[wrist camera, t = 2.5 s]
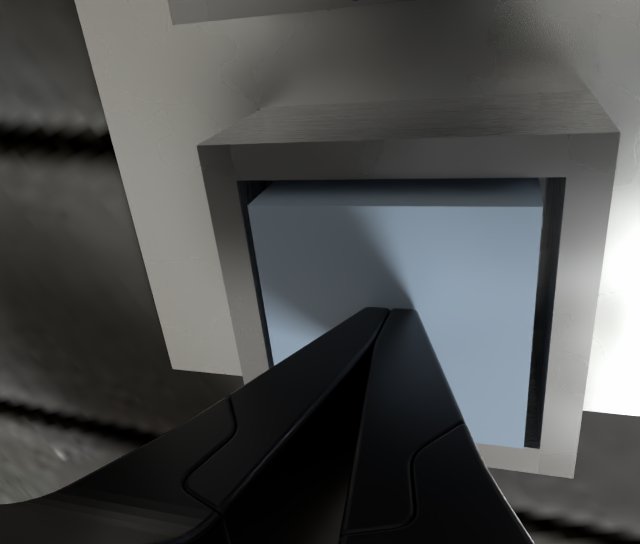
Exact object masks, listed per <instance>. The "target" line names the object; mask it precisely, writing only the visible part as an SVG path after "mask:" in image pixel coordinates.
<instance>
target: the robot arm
mask: <svg viewBox="0 0 640 544" xmlns="http://www.w3.org/2000/svg"><path fill="white" fill-rule="evenodd" d="M0 544H535V543H534V541H533V540H532V538H531V537H530V535H529V534H528V532H527V531H526V529H525V528H524V526H523V525H522V523H521V521H520V520H519V518H518V517H517V515H516V514H515V512H514V511H513V509H512V508H511V506H510V505H509V503H508V502H507V500H506V498H505V497H504V495H503V494H502V492H501V490H500V489H499V487H498V485H497V484H496V482H495V480H494V479H493V477H492V475H491V474H490V472H489V470H488V469H487V467H486V465H485V463H484V461H483V458H482V456H481V454H480V452H479V450H478V448H477V446H476V444H475V442H474V440H473V438H472V435H471V433H470V431H469V428H468V426H467V425H466V422H465V420H464V418H463V415H462V413H461V411H460V408H459V406H458V404H457V401H456V399H455V397H454V395H453V392H452V390H451V388H450V385H449V383H448V381H447V378H446V376H445V374H444V372H443V369H442V367H441V365H440V362H439V360H438V358H437V355H436V353H435V351H434V349H433V346H432V344H431V342H430V339H429V337H428V335H427V332H426V330H425V328H424V325H423V323H422V321H421V319H420V316H419V314H418V312H417V311H416V310H415V309H402V308H394V309H392V310H391V311H390V309H388V308H384V307H365V308H363V309H362V310H360V311H359V312H357V313H356V314H354V315H352V316H351V317H349V318H348V319H346V320H345V321H343V322H342V323H340V324H338V325H337V326H335V327H334V328H332V329H331V330H329V331H327V332H326V333H324V334H323V335H321V336H320V337H318V338H317V339H315V340H313V341H312V342H310V343H309V344H307V345H306V346H304V347H303V348H301V349H299V350H298V351H296V352H295V353H293V354H292V355H290V356H289V357H287V358H285V359H284V360H282V361H281V362H279V363H278V364H276V365H275V366H273V367H271V368H270V369H268V370H267V371H265V372H264V373H262V374H261V375H259V376H257V377H256V378H254V379H253V380H251V381H250V382H248V383H247V384H245V385H243V386H242V387H240V388H239V389H237V390H236V391H234V392H232V393H231V394H230V395H229V398H228V397H224V398H223V399H221V400H220V401H218V402H217V403H215V404H214V405H212V406H210V407H209V408H207V409H206V410H204V411H202V412H201V413H199V414H197V415H196V416H194V417H193V418H191V419H189V420H188V421H186V422H184V423H183V424H181V425H179V426H178V427H176V428H174V429H172V430H170V431H169V432H167V433H165V434H163V435H161V436H160V437H158V438H156V439H154V440H152V441H151V442H149V443H147V444H145V445H143V446H141V447H139V448H138V449H136V450H134V451H132V452H130V453H128V454H126V455H124V456H122V457H121V458H119V459H117V460H115V461H113V462H111V463H109V464H107V465H105V466H104V467H102V468H100V469H98V470H96V471H94V472H92V473H90V474H89V475H87V476H85V477H83V478H81V479H79V480H77V481H75V482H73V483H72V484H70V485H68V486H66V487H64V488H62V489H59V490H57V491H55V492H53V493H50V494H47V495H45V496H42V497H39V498H35V499H32V500H28V501H24V502H18V503H12V504H0Z"/></svg>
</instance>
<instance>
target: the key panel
mask: <svg viewBox="0 0 640 544" xmlns="http://www.w3.org/2000/svg"><path fill="white" fill-rule="evenodd" d="M74 1H75V4H76V8H77V12H78V16H79V20H80V23H81V27H82V31H83V35H84V38H85V42H86V46H87V50H88V53H89V57H90V61H91V65H92V68H93V72H94V76H95V80H96V83H97V87H98V91H99V95H100V98H101V102H102V106H103V110H104V113H105V117H106V121H107V125H108V128H109V132H110V136H111V140H112V143H113V147H114V151H115V155H116V158H117V162H118V166H119V170H120V173H121V177H122V181H123V185H124V188H125V192H126V196H127V200H128V203H129V207H130V211H131V215H132V218H133V222H134V226H135V230H136V233H137V237H138V241H139V245H140V248H141V252H142V256H143V260H144V263H145V267H146V271H147V275H148V278H149V282H150V286H151V290H152V293H153V297H154V301H155V305H156V308H157V312H158V316H159V320H160V324H161V327H162V331H163V335H164V339H165V342H166V346H167V350H168V354H169V357H170V361H171V365H172V369H177V370H187V371H197V372H207V373H217V374H227V375H237V376H243V381H244V385H245V384H247V383H248V382H250V381H251V380H253V379H254V378H256V377H257V376H259V375H261V374H262V373H264V372H265V371H267V370H268V369H270V368H271V367H273V366H274V362H273V356H272V350H271V344H270V338H269V332H268V326H267V320H266V314H265V308H264V302H263V296H262V290H261V284H260V278H259V272H258V266H257V260H256V254H255V248H254V242H253V236H252V230H251V224H250V218H249V212H248V205H249V204H250V203H251V202H252V201H253V200H254V199H255V198H256V197H257V196H259V195H260V194H261V193H262V192H263V191H264V190H265V189H266V188H267V187H268V186H270V185H271V184H272V183H273V182H274V181H275V180H344V179H440V178H536V177H538V179H539V185H540V191H541V198H542V204H543V214H542V226H541V238H540V251H539V263H538V276H537V288H536V301H535V313H534V326H533V338H532V351H531V363H530V375H529V388H528V400H527V413H526V425H525V438H524V449H521V448H513V447H505V446H497V445H488V444H480V443H475V444H476V446H477V448H478V450H479V452H480V454H481V456H482V458H483V461H484V463H485V465H486V467H491V468H499V469H506V470H514V471H521V472H528V473H536V474H543V475H551V476H558V477H566V478H573V477H574V470H575V463H576V455H577V448H578V441H579V433H580V426H581V419H582V411H583V410H584V411H594V412H603V413H613V414H623V415H633V416H640V0H74Z"/></svg>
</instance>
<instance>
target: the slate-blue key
mask: <svg viewBox="0 0 640 544" xmlns="http://www.w3.org/2000/svg"><path fill="white" fill-rule="evenodd" d="M248 212H249V218H250V224H251V230H252V236H253V242H254V248H255V254H256V260H257V266H258V272H259V278H260V284H261V290H262V296H263V302H264V308H265V314H266V320H267V326H268V332H269V338H270V344H271V350H272V356H273V362H274V366H275V365H276V364H278V363H279V362H281V361H282V360H284V359H285V358H287V357H289V356H290V355H292V354H293V353H295V352H296V351H298V350H299V349H301V348H303V347H304V346H306V345H307V344H309V343H310V342H312V341H313V340H315V339H317V338H318V337H320V336H321V335H323V334H324V333H326V332H327V331H329V330H331V329H332V328H334V327H335V326H337V325H338V324H340V323H342V322H343V321H345V320H346V319H348V318H349V317H351V316H352V315H354V314H356V313H357V312H359V311H360V310H362V309H363V308H365V307H384V308H388V309H390V311H391V310H392V309H394V308H402V309H415V310H416V311H417V312H418V314H419V316H420V319H421V321H422V323H423V325H424V328H425V330H426V332H427V335H428V337H429V339H430V342H431V344H432V346H433V349H434V351H435V353H436V355H437V358H438V360H439V362H440V365H441V367H442V369H443V372H444V374H445V376H446V378H447V381H448V383H449V385H450V388H451V390H452V392H453V395H454V397H455V399H456V401H457V404H458V406H459V408H460V411H461V413H462V415H463V418H464V420H465V422H466V425H467V426H468V428H469V431H470V433H471V435H472V438H473V440H474V442H475V443H480V444H488V445H497V446H505V447H513V448H521V449H524V438H525V425H526V413H527V400H528V388H529V375H530V363H531V351H532V338H533V326H534V313H535V301H536V288H537V276H538V263H539V251H540V238H541V226H542V214H543V204H542V198H541V191H540V185H539V179H538V177H536V178H440V179H344V180H275V181H274V182H273V183H272V184H271V185H270V186H268V187H267V188H266V189H265V190H264V191H263V192H262V193H261V194H260V195H259V196H257V197H256V198H255V199H254V200H253V201H252V202H251V203H250V204H249V205H248Z"/></svg>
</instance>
